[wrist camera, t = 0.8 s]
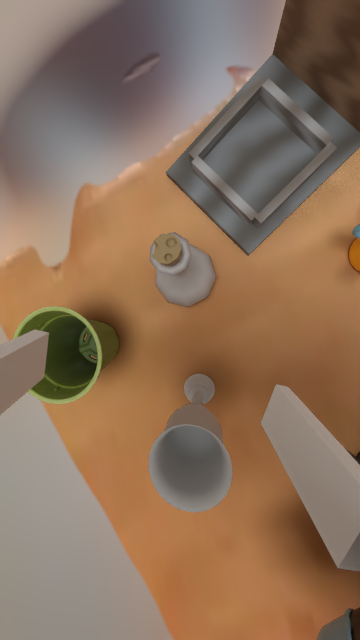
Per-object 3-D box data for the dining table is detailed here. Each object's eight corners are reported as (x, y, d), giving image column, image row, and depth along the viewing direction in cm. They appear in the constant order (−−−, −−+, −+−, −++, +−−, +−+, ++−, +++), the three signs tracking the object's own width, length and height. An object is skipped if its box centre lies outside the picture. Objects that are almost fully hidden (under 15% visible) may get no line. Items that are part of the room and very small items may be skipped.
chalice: (176, 367, 36) (145, 424, 18) (219, 365, 35) (229, 423, 17) (180, 411, 36) (151, 510, 18) (222, 411, 35) (235, 514, 17)
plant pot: (136, 374, 37) (105, 402, 26) (71, 377, 38) (15, 405, 27) (130, 304, 36) (95, 301, 25) (65, 310, 38) (5, 310, 27)
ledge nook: (370, 136, 31) (835, -365, 8) (247, 255, 34) (330, 140, 11) (278, 53, 32) (454, -597, 9) (167, 175, 35) (87, -82, 12)
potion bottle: (159, 305, 36) (110, 300, 18) (162, 250, 35) (115, 189, 17) (213, 308, 35) (218, 306, 17) (217, 251, 34) (226, 187, 16)
